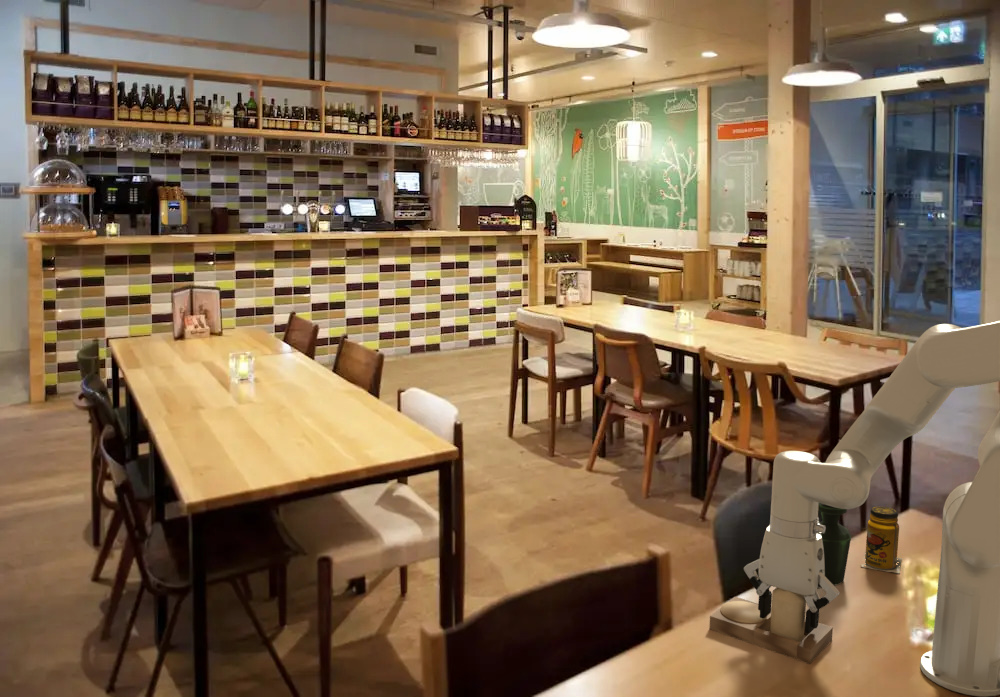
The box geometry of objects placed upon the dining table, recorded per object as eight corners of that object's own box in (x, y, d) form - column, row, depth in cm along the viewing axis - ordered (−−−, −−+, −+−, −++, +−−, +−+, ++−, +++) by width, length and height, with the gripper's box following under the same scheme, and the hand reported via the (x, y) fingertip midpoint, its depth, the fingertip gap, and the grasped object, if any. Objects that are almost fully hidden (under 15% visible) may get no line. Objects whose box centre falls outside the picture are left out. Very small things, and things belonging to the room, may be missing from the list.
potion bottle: (846, 572, 176) (852, 488, 173) (850, 589, 168) (856, 501, 165) (804, 567, 178) (809, 484, 175) (806, 584, 171) (811, 497, 168)
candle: (805, 650, 146) (809, 594, 144) (771, 646, 147) (774, 591, 145) (801, 634, 151) (804, 580, 149) (768, 631, 152) (771, 578, 150)
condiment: (860, 567, 179) (864, 512, 177) (864, 553, 186) (868, 500, 184) (899, 574, 175) (903, 518, 173) (901, 559, 183) (906, 505, 181)
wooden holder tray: (832, 640, 149) (833, 625, 148) (809, 663, 141) (810, 648, 141) (734, 609, 160) (735, 595, 160) (709, 629, 153) (710, 614, 152)
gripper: (853, 531, 143) (846, 630, 146) (754, 507, 154) (749, 600, 157) (837, 544, 137) (830, 648, 140) (735, 518, 148) (730, 614, 151)
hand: (787, 622), depth 148 cm, fingers open, 7 cm apart
